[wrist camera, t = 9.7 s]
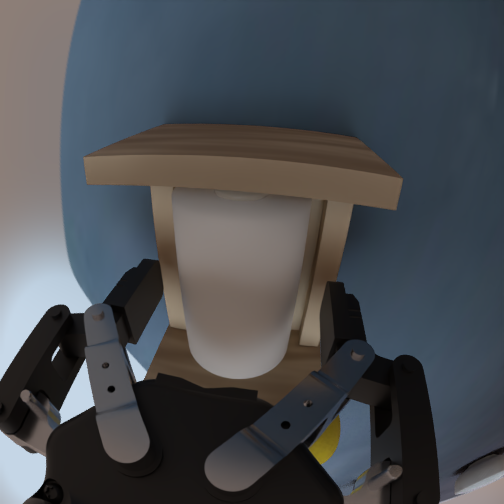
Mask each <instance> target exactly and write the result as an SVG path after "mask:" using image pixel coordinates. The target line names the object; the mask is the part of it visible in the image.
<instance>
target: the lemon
mask: <svg viewBox="0 0 504 504" xmlns="http://www.w3.org/2000/svg"><path fill="white" fill-rule="evenodd" d="M339 437H340V418H339V414H338V416H337V417H336V418H335V419H334V420H333V421H332V423H331V424H330V425H329V426H328V427H327V429H326V430H325V431H324V432H323V434H322V435H321V436H320V437H319V438H318V440H317V441H316V442H315V443H314V444H313V445H312V446H311V447H310V448H309V450H310V451H311V453H312V454H313V455H314V457H315V458H316V459H317V460H318V462H319V463H320V464H322V463H324V462H326V461H327V460H328V459H329V458H330V457H331V456H332V455H333V453H334V452H335V450H336V448H337V445H338V442H339Z"/></svg>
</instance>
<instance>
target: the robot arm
mask: <svg viewBox="0 0 504 504" xmlns="http://www.w3.org/2000/svg"><path fill="white" fill-rule="evenodd" d="M163 289H164V286H163V279H162V273H161V266H160V262H159V261H158V260H151V259H143V260H142V261H141V263H140V264H139V265H138V267H137V268H136V267H133V268H132V269H130V270H129V271H127V272H126V273H125V274H124V275H123V276H122V278H121V280H119V282H118V283H117V284H116V286H115V287H114V288H113V290H112V291H111V292H110V294H109V295H108V296H107V298H106V299H105V301H104V302H103V303H99V304H95V305H92V306H91V307H89V308H88V309H87V310H86V311H85V313H74V314H71V313H70V310H69V308H68V307H67V306H66V305H55V306H53V307H51V308H50V309H48V311H47V312H46V313H45V315H44V316H43V317H42V318H41V320H40V321H39V323H38V324H37V325H36V327H35V328H34V330H33V331H32V333H31V334H30V335H29V337H28V338H27V340H26V341H25V343H24V344H23V346H22V347H21V349H20V351H19V352H18V353H17V355H16V356H15V358H14V360H13V361H12V363H11V364H10V366H9V367H8V369H7V371H6V372H5V374H4V376H3V378H2V379H1V381H0V430H1V431H2V432H3V433H4V434H5V435H6V436H8V437H9V438H10V439H11V440H13V441H14V442H15V443H16V444H18V445H20V446H21V447H22V448H24V449H25V450H26V451H28V452H30V453H40V454H42V455H44V456H46V475H45V480H44V483H43V485H42V486H41V487H40V489H39V490H38V491H37V492H36V493H35V494H34V495H33V496H31V497H30V498H29V499H27V500H26V501H25V502H24V503H23V504H439V501H440V485H439V469H438V458H437V448H436V439H435V432H434V425H433V418H432V412H431V406H430V400H429V395H428V389H427V384H426V379H425V375H424V370H423V366H422V364H421V363H420V361H419V360H417V359H416V358H415V357H413V356H410V355H400V356H398V357H397V358H396V359H395V360H394V361H393V360H389V359H386V358H383V357H380V356H378V355H376V354H375V352H374V349H373V348H372V347H371V345H369V344H368V343H367V341H366V335H365V330H364V325H363V320H362V315H361V312H360V306H359V302H358V300H357V299H356V298H355V296H354V295H353V294H346V293H345V288H344V283H343V282H335V281H327V283H326V287H325V291H324V295H323V299H322V303H321V308H320V316H319V320H320V341H321V369H320V370H319V371H317V372H316V371H312V372H311V373H310V374H308V375H307V376H306V377H305V378H304V379H303V380H302V381H301V382H300V383H299V384H298V385H297V386H296V387H295V388H294V389H293V390H291V391H290V392H289V393H288V394H287V395H286V396H285V397H284V398H283V399H282V400H280V401H279V402H278V403H277V404H276V405H275V406H273V405H272V404H270V403H269V402H267V401H265V400H263V399H260V398H257V395H258V390H250V389H243V388H236V387H222V388H204V387H201V386H199V385H196V384H194V383H192V382H190V381H188V380H185V379H183V378H181V377H176V376H172V375H167V374H163V373H159V372H158V374H157V377H156V379H148V380H143V381H139V382H136V379H135V376H134V373H133V370H132V367H131V364H130V361H129V357H128V354H127V351H126V348H125V347H126V345H127V343H132V344H137V342H138V340H139V338H140V336H141V334H142V333H143V331H144V329H145V327H146V325H147V323H148V321H149V320H150V318H151V316H152V314H153V312H154V310H155V309H156V307H157V305H158V303H159V301H160V300H161V298H162V295H163ZM58 346H59V347H60V349H59V351H58V352H57V354H56V356H55V358H54V359H53V361H51V360H52V356H53V354H54V352H55V350H56V349H57V347H58ZM85 359H86V362H87V368H88V374H89V379H90V384H91V389H92V394H93V399H94V403H95V406H93V407H91V408H90V409H88V410H86V411H84V412H82V413H81V414H79V415H77V416H75V417H73V418H71V419H70V420H68V421H66V422H64V423H62V424H60V422H61V416H60V413H59V411H60V409H61V407H62V404H63V402H64V400H65V398H66V396H67V394H68V392H69V390H70V388H71V386H72V384H73V382H74V380H75V378H76V376H77V374H78V372H79V370H80V368H81V366H82V364H83V362H84V360H85ZM351 399H353V400H356V401H359V402H362V403H365V404H369V405H370V425H371V467H370V468H369V469H367V470H366V471H365V472H364V473H362V474H361V475H360V476H359V477H358V479H357V480H356V483H355V487H354V490H353V492H352V493H351V494H350V495H348V496H343V495H342V492H341V490H340V488H339V487H338V485H337V484H336V483H335V482H334V481H333V479H332V478H331V477H330V476H329V474H328V473H327V472H326V471H325V469H324V468H323V467H322V466H321V464H320V463H319V462H318V460H317V459H316V458H315V457H314V455H313V454H312V453H311V451H310V450H309V448H310V447H311V446H312V445H313V444H314V443H315V442H316V441H317V440H318V438H319V437H320V436H321V435H322V434H323V432H324V431H325V430H326V429H327V427H328V426H329V425H330V424H331V423H332V421H333V420H334V419H335V418H336V417H337V416H338V414H339V413H340V412H341V411H342V410H343V409H344V407H345V406H346V405H347V404H348V403H349V401H350V400H351Z"/></svg>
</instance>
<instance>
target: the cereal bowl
mask: <svg viewBox="0 0 504 504" xmlns="http://www.w3.org/2000/svg"><path fill="white" fill-rule="evenodd" d="M503 475H504V454H502V455H496V454H492V455H489V456H486V457H484V458H482V459H480V460H478V461H476V462H474V463H473V464H471V465H470V466H469V467H468V469H467V470H465V471H464V472H463V473H462V474H461V475H460V476H459V477H458V479H457V481H456V483H455V494H461V493H465V492H468V491H471V490H474V489H476V488H479V487H481V486H484V485H486V484H488V483H490V482H492V481H494V480H496V479H498V478H500V477H502V476H503Z"/></svg>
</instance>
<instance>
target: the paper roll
mask: <svg viewBox="0 0 504 504" xmlns="http://www.w3.org/2000/svg"><path fill="white" fill-rule="evenodd" d="M311 203H312V198H303V197H294V196H285V195H275V194H265V193H254V192H243V191H231V190H217V189H202V188H186V187H175V188H174V190H173V192H172V210H173V222H174V233H175V244H176V253H177V263H178V271H179V280H180V288H181V296H182V303H183V310H184V317H185V324H186V330H187V337H188V343H189V348H190V351H191V354H192V356H193V357H194V359H195V360H196V361H197V363H198V364H199V365H200V366H202V367H203V368H204V369H206V370H207V371H209V372H211V373H213V374H215V375H218V376H221V377H225V378H231V379H247V378H253V377H257V376H260V375H262V374H265V373H267V372H269V371H270V370H272V369H273V368H275V367H276V366H277V365H278V364H279V363H280V362H281V360H282V359H283V358H284V356H285V354H286V351H287V347H288V342H289V337H290V332H291V326H292V321H293V316H294V310H295V305H296V299H297V294H298V288H299V282H300V276H301V270H302V264H303V258H304V251H305V245H306V238H307V232H308V225H309V218H310V211H311Z"/></svg>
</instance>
